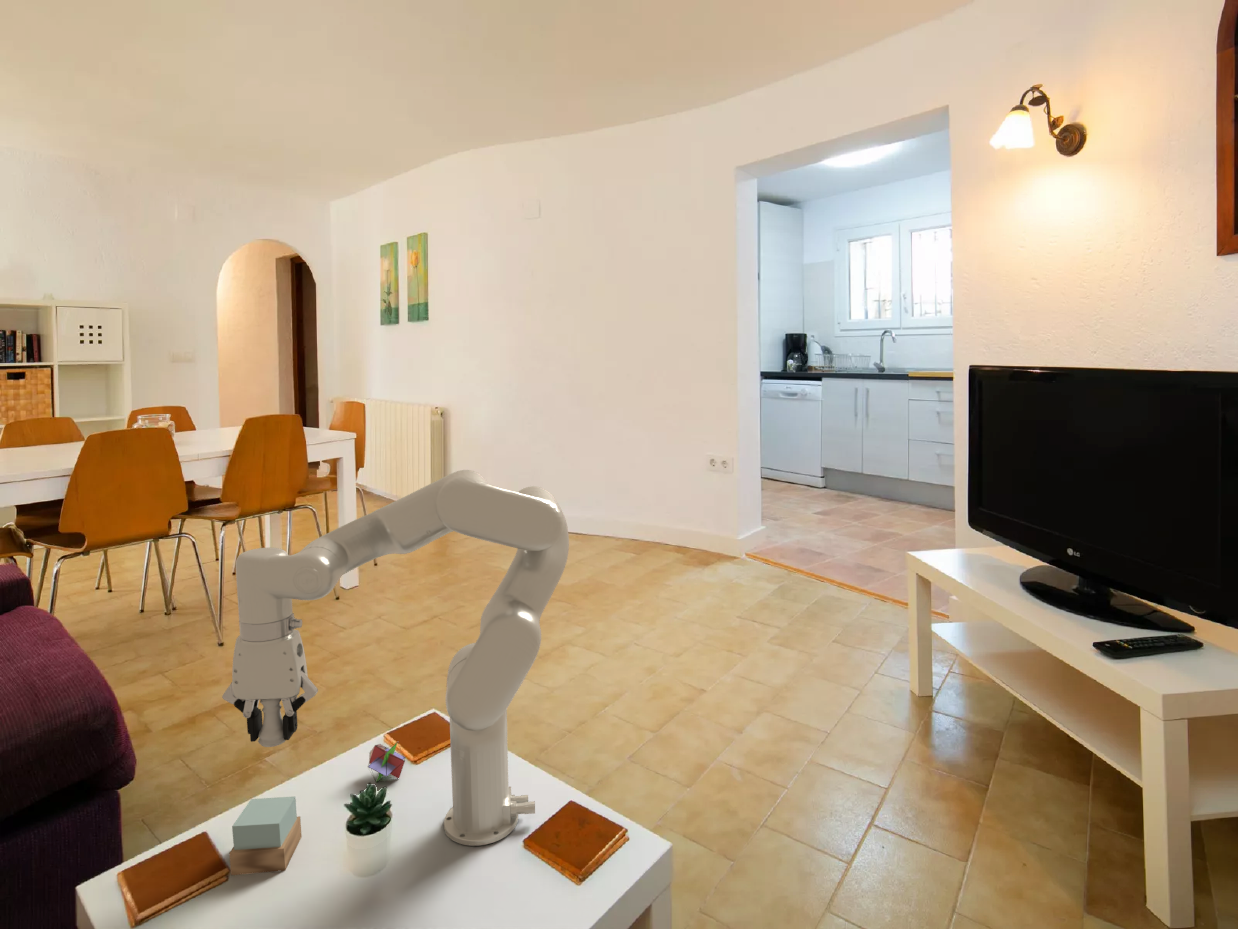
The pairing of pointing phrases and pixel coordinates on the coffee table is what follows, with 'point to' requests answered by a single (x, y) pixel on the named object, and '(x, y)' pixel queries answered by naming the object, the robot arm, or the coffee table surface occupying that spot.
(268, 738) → the rook chess piece
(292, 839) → the tower base
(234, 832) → the tower top
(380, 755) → the geometric puzzle
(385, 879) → the coffee table surface
